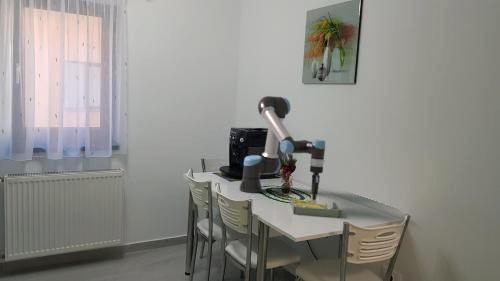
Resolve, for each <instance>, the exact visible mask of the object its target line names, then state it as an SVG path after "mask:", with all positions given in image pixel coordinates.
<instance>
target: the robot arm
mask: <svg viewBox="0 0 500 281" xmlns="http://www.w3.org/2000/svg"><path fill="white" fill-rule="evenodd" d="M257 110H258V113H259V115H260V116H261V118H263V119H264V120H265V122H266V123H267V124H268V129H267V135H266V140H265V146H264V152H262V153H261V156H260V155H253V154H252V155H248V156H245V157H244V160H243V171H242V172H243V174H242V180H241V182H240V185H239V191H241V192H244V193H251V194H257V193H260V192H262V190H263V188H262V183H261V175H274V174H277V173H279V170H280V169H281V165H282V163H281V160H280V158H279V155H278V149H279V148H280V151H281V153H283V154H288V155H290V154H291V155H292V154H309V155H310V156H311V157H310V167H309V172H311V173H312V174H311V190H310V191H311V193H310V194H311V195H310V196H311V199H310V202H311V203H315V204H317V195H318V192H319V185H320V181H321V180H320V178H321V177H320V174H322V173H323V172H324V167H323V166H324V163H325V152H326V151H325V150H326V140H324V139H318V138H317V139H316V138H314V139H312V140H311V141H310V140H307V139H300V140H294V138H293V137H292V136H291V134H290V132H289V131H288V130H287V128H286V126H285V125H284V124H283V121H284V120H285V119H286V115H289V113H290V112H291V103H290V101H289V100H288V98H286V97H284V96H283V97H282V96H270V95H268V96H264V97H262V98H261V99H260V100H259V102H258V104H257ZM279 142H280V145H279Z"/></svg>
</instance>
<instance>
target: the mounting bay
mask: <svg viewBox="0 0 500 281" xmlns="http://www.w3.org/2000/svg"><path fill="white" fill-rule="evenodd" d="M290 206H291V210H292V214H293V215H303V216H314V217H315V216H319V217H327V216H329V217H328V218H341V212H342V209H341V208H340V207H339V205H338V204H337V203H336V202H334V201H333V202H332V207H328V208H326V209H324V208H311V207H307V206H303V207H298V206H296V203H295V201H294V199H293V198H292V199H291V200H290Z"/></svg>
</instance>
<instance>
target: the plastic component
mask: <svg viewBox="0 0 500 281" xmlns="http://www.w3.org/2000/svg"><path fill="white" fill-rule="evenodd" d="M292 199H293V200H294V203H295V206H298V207H303V206H307V207H311V208H324V209H327V207H328V205H327V203H325V204H323V205H322V204H320V203H316V204H315V203H311V201H307V200H306V201H305V200H302V199H299V198H295V196H294V195H293V196H292Z"/></svg>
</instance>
